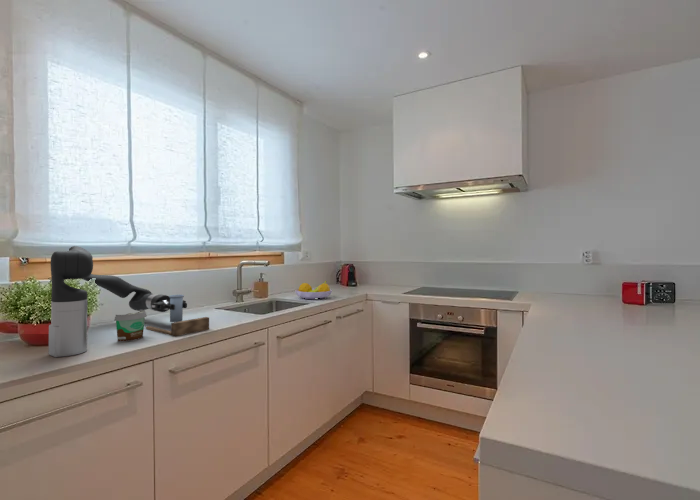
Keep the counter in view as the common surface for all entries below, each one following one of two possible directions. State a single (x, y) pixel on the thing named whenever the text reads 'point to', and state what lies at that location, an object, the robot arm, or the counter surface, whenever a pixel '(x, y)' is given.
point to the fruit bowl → (313, 291)
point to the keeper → (176, 308)
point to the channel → (184, 327)
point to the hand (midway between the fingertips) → (179, 306)
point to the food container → (130, 326)
